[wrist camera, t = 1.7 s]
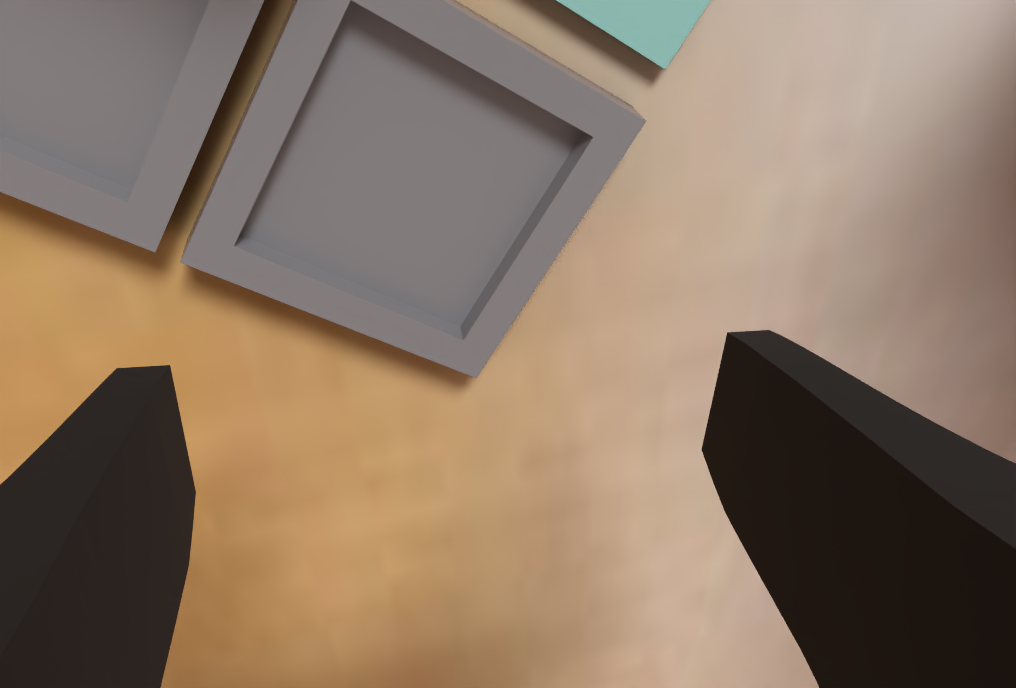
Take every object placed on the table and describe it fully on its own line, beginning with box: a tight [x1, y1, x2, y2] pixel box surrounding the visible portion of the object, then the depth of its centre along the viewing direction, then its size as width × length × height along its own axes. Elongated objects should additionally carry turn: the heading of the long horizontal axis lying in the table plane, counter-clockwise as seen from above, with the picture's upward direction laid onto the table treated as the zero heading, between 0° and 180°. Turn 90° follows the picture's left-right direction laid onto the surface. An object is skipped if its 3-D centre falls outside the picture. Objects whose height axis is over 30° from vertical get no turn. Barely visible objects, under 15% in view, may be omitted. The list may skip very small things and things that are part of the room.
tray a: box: [180, 0, 646, 378], centre depth 18 cm, size 7×7×1 cm
